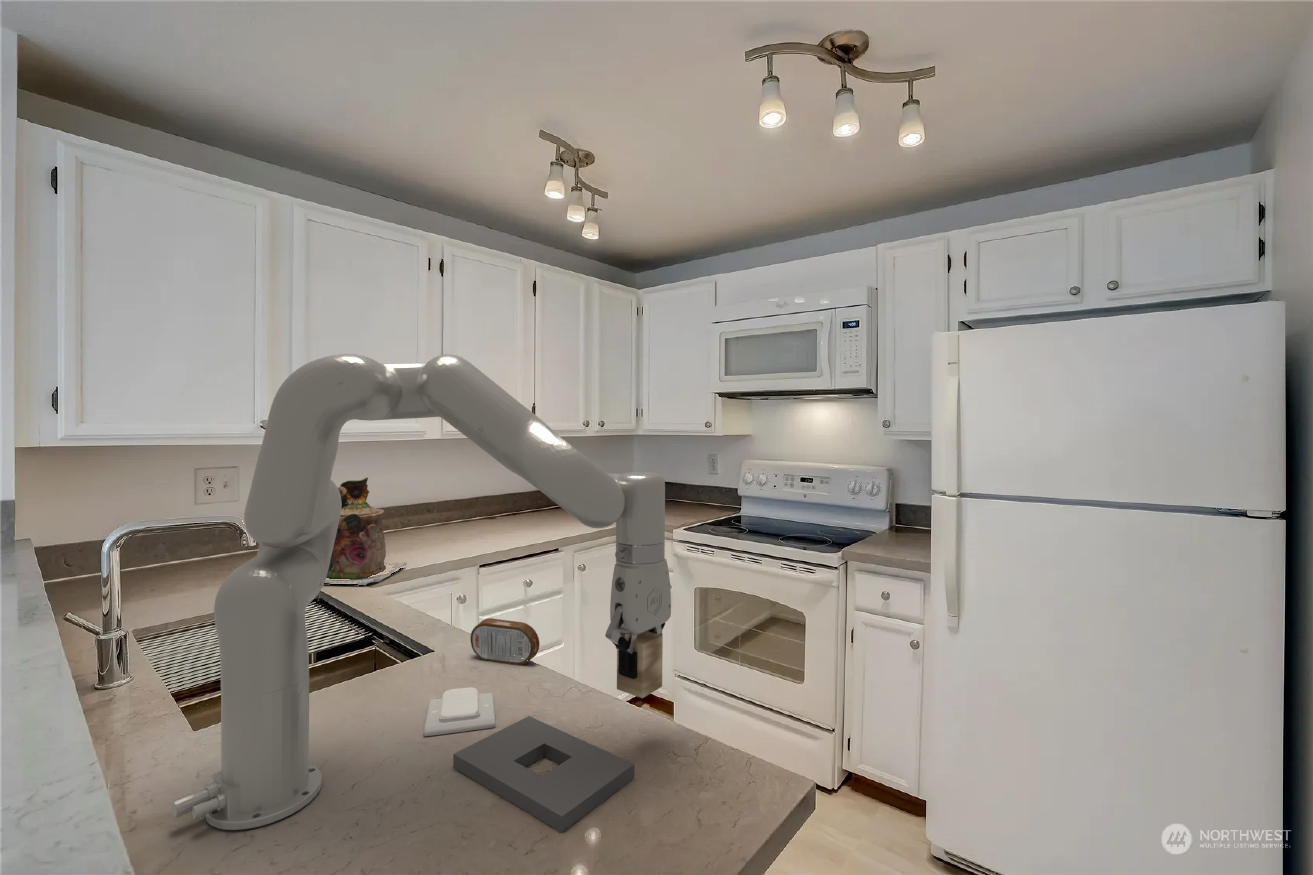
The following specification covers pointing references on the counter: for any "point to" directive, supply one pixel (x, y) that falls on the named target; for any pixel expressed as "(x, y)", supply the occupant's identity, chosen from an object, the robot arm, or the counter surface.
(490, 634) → the tin
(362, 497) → the cookie jar
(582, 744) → the grey plate with hole
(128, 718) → the counter surface
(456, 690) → the light switch
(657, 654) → the beige rectangular block
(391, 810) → the counter surface
